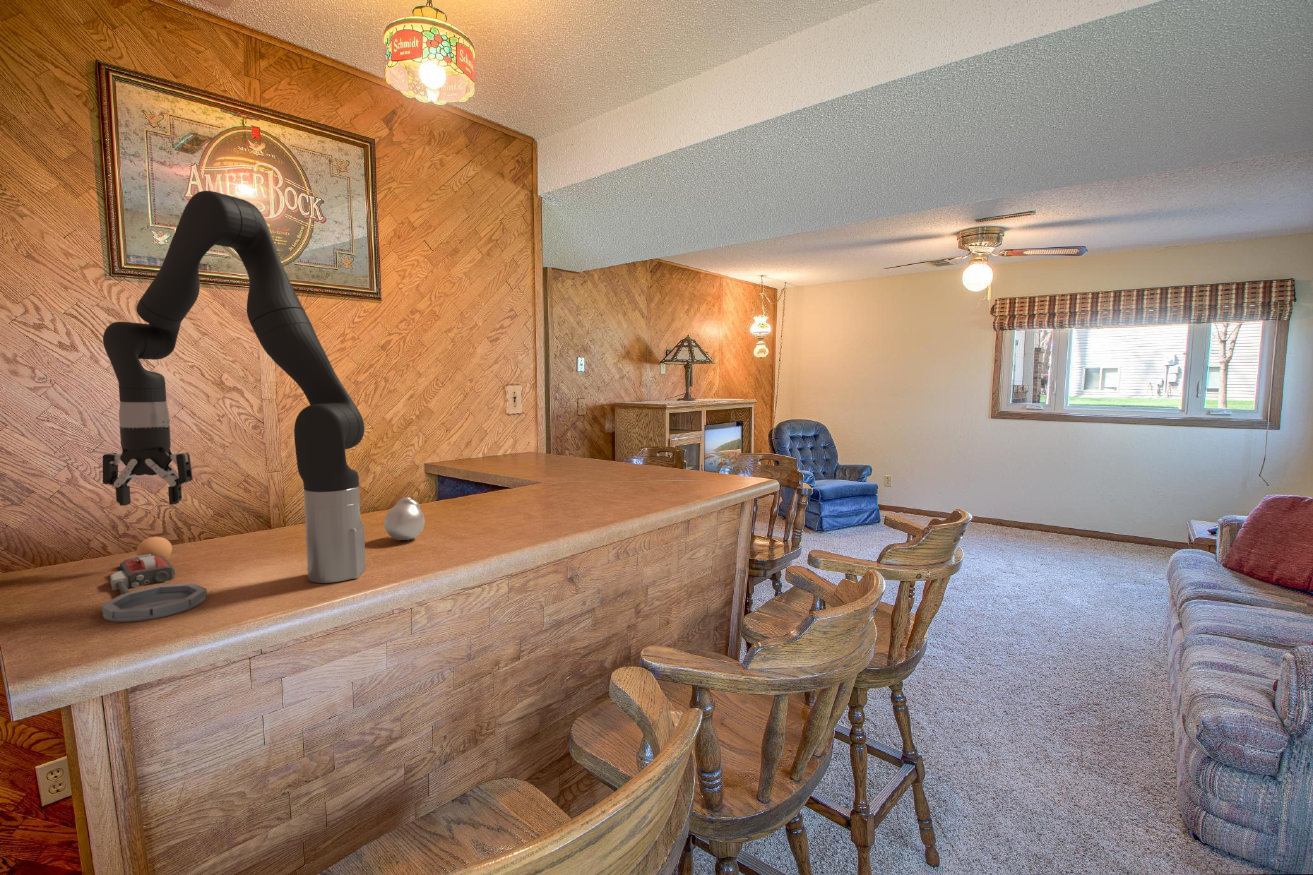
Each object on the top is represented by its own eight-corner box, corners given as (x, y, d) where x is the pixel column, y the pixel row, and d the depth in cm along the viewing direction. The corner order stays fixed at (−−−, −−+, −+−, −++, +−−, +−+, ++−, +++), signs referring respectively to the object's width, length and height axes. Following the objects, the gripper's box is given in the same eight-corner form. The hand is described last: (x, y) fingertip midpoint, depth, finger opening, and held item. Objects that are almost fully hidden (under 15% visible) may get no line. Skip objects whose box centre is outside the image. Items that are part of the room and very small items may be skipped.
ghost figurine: (435, 537, 142) (434, 496, 141) (403, 547, 133) (402, 503, 132) (408, 532, 145) (406, 493, 144) (375, 542, 137) (374, 500, 136)
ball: (178, 558, 123) (177, 533, 122) (162, 566, 117) (161, 540, 117) (148, 560, 122) (146, 534, 121) (130, 568, 116) (128, 541, 116)
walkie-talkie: (104, 577, 112) (118, 604, 99) (102, 555, 112) (116, 579, 99) (163, 567, 119) (184, 591, 106) (162, 545, 118) (182, 567, 105)
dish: (221, 589, 105) (220, 581, 105) (179, 618, 92) (178, 608, 92) (136, 594, 102) (135, 586, 102) (81, 625, 90) (80, 615, 89)
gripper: (89, 425, 112) (95, 509, 113) (175, 426, 115) (180, 507, 116) (115, 423, 119) (121, 501, 120) (196, 423, 122) (200, 499, 123)
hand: (150, 504), depth 118 cm, fingers open, 8 cm apart
